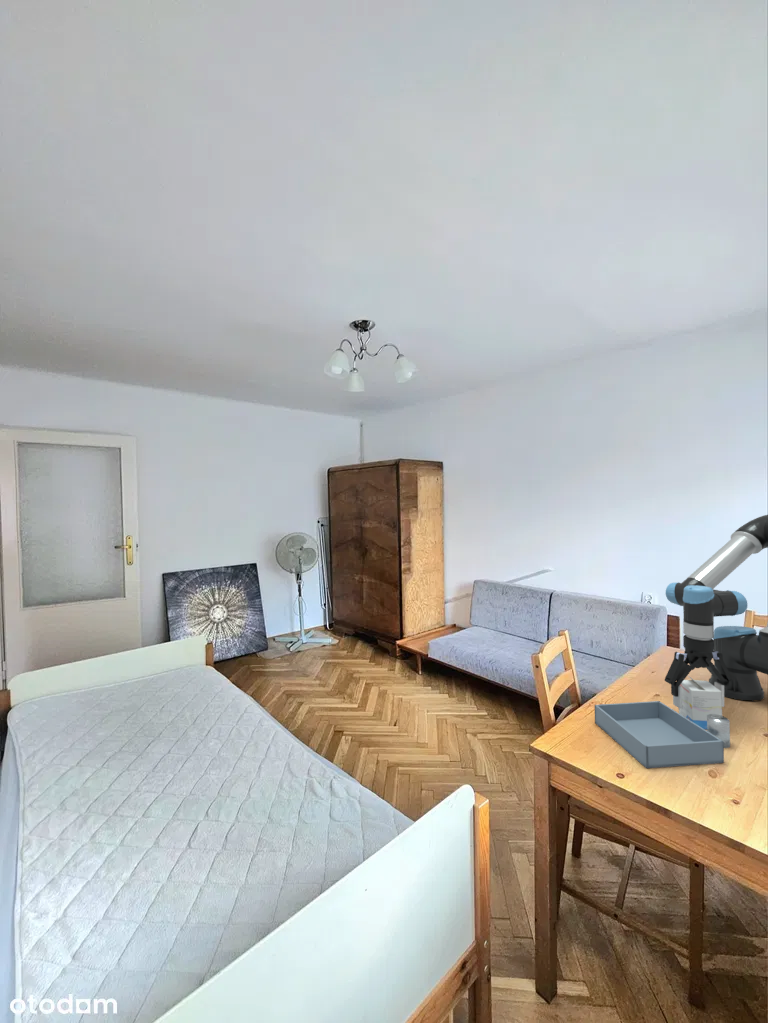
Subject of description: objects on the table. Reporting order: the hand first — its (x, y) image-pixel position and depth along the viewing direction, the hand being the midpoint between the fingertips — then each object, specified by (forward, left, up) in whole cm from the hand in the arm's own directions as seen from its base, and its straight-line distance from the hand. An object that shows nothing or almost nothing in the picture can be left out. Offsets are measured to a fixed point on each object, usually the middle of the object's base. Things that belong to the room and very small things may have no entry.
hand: (698, 705), depth 130 cm
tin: (+4, +11, -5) cm, 13 cm away
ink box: (0, 0, -6) cm, 6 cm away
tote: (+21, +8, -5) cm, 23 cm away
